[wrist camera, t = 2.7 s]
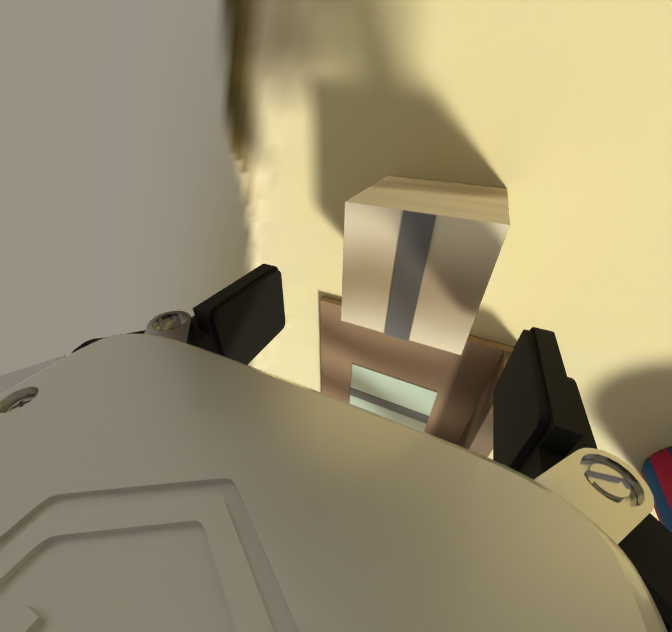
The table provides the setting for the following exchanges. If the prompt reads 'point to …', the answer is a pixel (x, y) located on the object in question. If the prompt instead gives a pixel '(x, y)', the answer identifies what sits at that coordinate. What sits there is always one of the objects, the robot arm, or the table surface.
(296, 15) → the table surface
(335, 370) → the wooden tray
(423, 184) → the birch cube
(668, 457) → the mug
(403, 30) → the table surface
